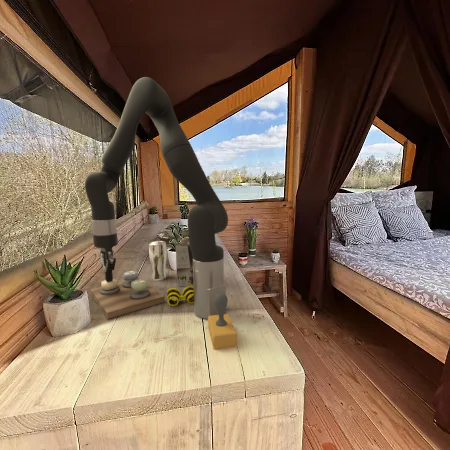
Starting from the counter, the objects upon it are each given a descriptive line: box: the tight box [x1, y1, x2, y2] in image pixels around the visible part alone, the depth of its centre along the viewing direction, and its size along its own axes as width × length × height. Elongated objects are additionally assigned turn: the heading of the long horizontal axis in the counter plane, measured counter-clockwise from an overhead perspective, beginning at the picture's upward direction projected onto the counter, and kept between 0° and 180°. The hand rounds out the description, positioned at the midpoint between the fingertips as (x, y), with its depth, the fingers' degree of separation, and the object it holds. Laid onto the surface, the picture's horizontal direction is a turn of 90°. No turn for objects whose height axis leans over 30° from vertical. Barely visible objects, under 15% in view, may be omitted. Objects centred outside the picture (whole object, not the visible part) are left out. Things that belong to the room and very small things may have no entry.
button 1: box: [100, 278, 118, 290], centre depth 95 cm, size 5×5×2 cm
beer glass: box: [148, 240, 168, 282], centre depth 111 cm, size 7×7×15 cm
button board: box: [90, 277, 165, 320], centre depth 94 cm, size 22×18×3 cm
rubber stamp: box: [207, 293, 238, 350], centre depth 70 cm, size 10×6×12 cm, turn 11°
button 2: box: [131, 279, 148, 291], centre depth 91 cm, size 5×5×2 cm
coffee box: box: [175, 240, 194, 288], centre depth 106 cm, size 9×6×16 cm
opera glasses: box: [166, 285, 194, 307], centre depth 90 cm, size 10×5×5 cm, turn 107°
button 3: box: [123, 270, 139, 281], centre depth 100 cm, size 5×5×2 cm
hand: (109, 280), depth 95 cm, fingers closed
